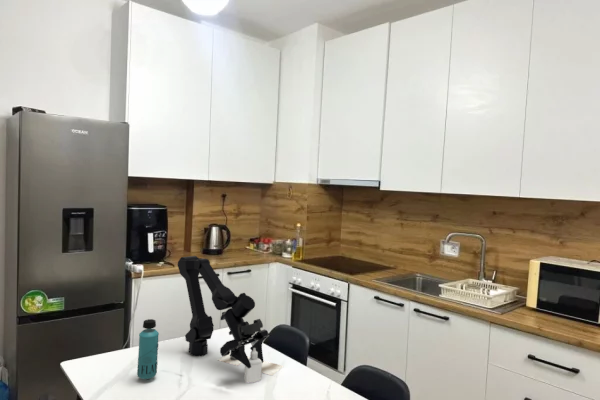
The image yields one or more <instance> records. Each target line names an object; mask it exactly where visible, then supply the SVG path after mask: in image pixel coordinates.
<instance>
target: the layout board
mask: <svg viewBox="0 0 600 400" xmlns="http://www.w3.org/2000/svg"><path fill="white" fill-rule="evenodd" d="M230 354H231V351H230V353H229V355H226V356H223V357H222V356H221V357H220V358H219V359H217V361H219V362H223V363H226V364H230V365H233V366H237V367H238V366H240V365H241V364H242V363H241V362H240V361H239V360H231V359H230ZM247 357H248V359H250V356H247ZM263 361H264V362H263V363H262V370H261V374H265V375H269V376H274V375H275V374H277V372H279V371H280V370H281V369H282V368H284V365H282V364H278V363H275V362H270V361H266V360H263Z"/></svg>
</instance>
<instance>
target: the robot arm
mask: <svg viewBox="0 0 600 400" xmlns="http://www.w3.org/2000/svg"><path fill="white" fill-rule="evenodd" d="M177 268H178V270H179V274H180V275H181V277H182V278H183V279H184V280H185V284H186V289H187V295H188V299H189V306H190V311H191V314H192V315H191V316H192V317H191V320H190V323H189V330H188V331H187V333H186V334H185V335H184V338H185V341H186V342H188V353H189V354H190V355H191V356H193V357H204V356H206V355H208V340H211V338H212V335H213V333H214V326H215V325H214V323H213V317H212V316H211V315H208V314H207V313H206V309H205V303H204V300H203V295H202V289H201V284H200V278H199V275H201V278H202V279H203V281H204V282H205V284H206V286H207V287H208V289H209V290H210V293H211V301H212V303H213V306H214V307H215V309H216V310H217V311H222V312H221V316H220V321H224V320H225V323H226V324H227V326H228V329H229V331H228V335H229V336H231V335H232V337H233V339H231V340H228V341H226V342H225V343H224V344H223V345H222V346H221V347H220V348H219V350H220V351H219V353H220V355H221V358H222V357H224V356H226V355H229V353H230V352H231V354H230V357H231V356H233V357H234V358H236V359H237V360H239V361H240V362H241V364H243V365H244V367H245V366H246V367H248V368H251V364H250V362H249V360H248V357H249V356H248V357H247V355H248V354H247V352H246V351H245V349H246V346H247V345H249V344H251V347H249V349H250V350H251V351H253V348H256V351H257V352H258V357H257V358H259V359H261V361H262V363H263V362H264V361H265V360H264V354H263V342H264V341H266V339H267V338H268V337H270V333H269V332H268V330H267V329H263V327H264V325H263V321H262V320H261V318H257V319H254V320H253V323H249V321H245V320H244V318H245V317H246V316H247V315H248V314H250V312H251V311H252V310H253V309H255V306H256V301H255V300H254V299H253V298H252V297H251V296H249V295H247V294H246V293H245V292H242V293H240V294H239V295H238V296H237V295H235V293H234V292H233V291H232V290H231V288H229V287H227V286H226V285H224V284H223V282H222V281H221V280H220V278H219V276H218V274H217V273H216V272H215V270H214V268H213V267H212V265H211V262H210V260H209V259H208V258H202V257H201V258H200V257H198V256H197V255H189V256H183V257H182V256H181V257H180V258H179V260H178V261H177ZM223 310H226V311H223Z"/></svg>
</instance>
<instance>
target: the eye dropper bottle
mask: <svg viewBox="0 0 600 400" xmlns="http://www.w3.org/2000/svg"><path fill="white" fill-rule="evenodd" d="M249 357H250V358H249V359H248V360H249V362H250V364H251V368H248V367H246V366H245V365H244V375H243V376H244V378H243V381H244V383H246V384H248V383H249V384H251V383H253V384H254V383H257V382H260V381H261V380H262V373H261V370H262V361H261V359H259V358H257V357H258V352H257V351H256V348H253V351H252V350H251V351H250V355H249Z"/></svg>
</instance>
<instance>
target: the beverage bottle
mask: <svg viewBox="0 0 600 400" xmlns="http://www.w3.org/2000/svg"><path fill="white" fill-rule="evenodd" d="M156 322H157V321H156V320H155V319H153V318H152V319H149V318H148V319H145V320H143V322H142V323H143V324H142V328H143V330H142V331H140V332H139V337H138V356H137V367H136V368H137V372H136V375H137V377H138V379H141V380H149V379H152V378H154V377H156V376H157V371H158V362H159V360H158V354H159V353H158V352H159V346H160V345H159V335H160V333H159V331H158V330H156V329H155V328H156V326H157V323H156Z"/></svg>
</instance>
